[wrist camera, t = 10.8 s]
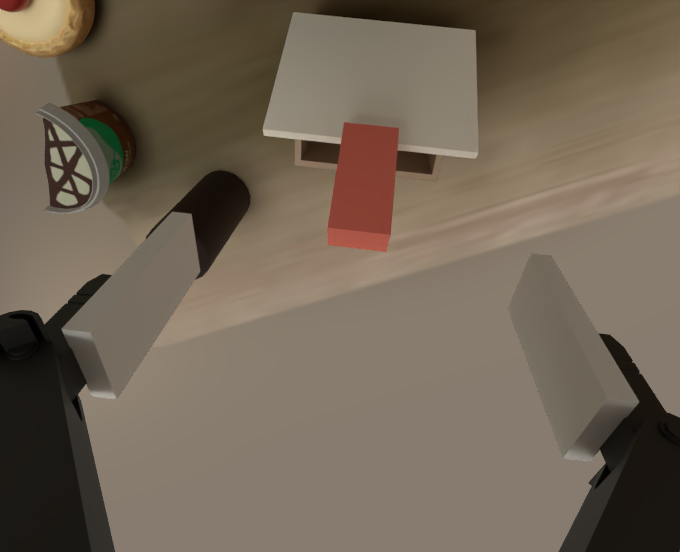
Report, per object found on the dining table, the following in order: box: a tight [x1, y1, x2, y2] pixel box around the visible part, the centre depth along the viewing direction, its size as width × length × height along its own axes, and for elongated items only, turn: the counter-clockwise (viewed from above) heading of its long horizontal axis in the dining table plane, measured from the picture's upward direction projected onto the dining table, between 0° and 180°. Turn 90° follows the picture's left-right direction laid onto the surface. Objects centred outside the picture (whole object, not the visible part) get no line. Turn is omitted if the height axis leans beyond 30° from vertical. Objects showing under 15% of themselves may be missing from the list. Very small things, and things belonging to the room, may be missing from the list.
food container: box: [35, 100, 136, 213], centre depth 47 cm, size 12×6×10 cm, turn 160°
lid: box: [263, 12, 478, 252], centre depth 27 cm, size 20×14×2 cm
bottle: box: [146, 171, 250, 280], centre depth 45 cm, size 7×7×20 cm
